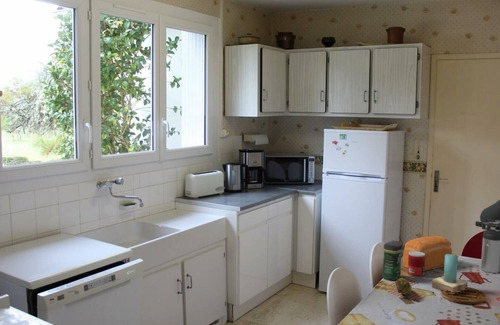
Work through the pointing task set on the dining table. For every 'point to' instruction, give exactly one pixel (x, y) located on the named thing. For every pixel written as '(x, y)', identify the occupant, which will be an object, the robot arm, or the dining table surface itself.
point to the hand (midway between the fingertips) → (481, 222)
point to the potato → (403, 286)
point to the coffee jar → (392, 260)
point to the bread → (429, 251)
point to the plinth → (448, 284)
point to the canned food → (416, 263)
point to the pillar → (450, 268)
